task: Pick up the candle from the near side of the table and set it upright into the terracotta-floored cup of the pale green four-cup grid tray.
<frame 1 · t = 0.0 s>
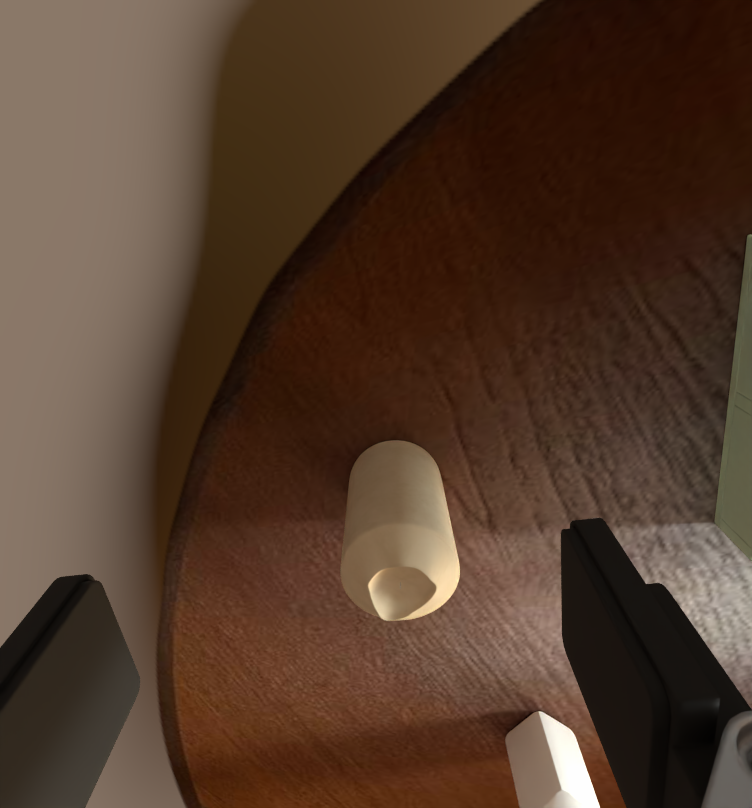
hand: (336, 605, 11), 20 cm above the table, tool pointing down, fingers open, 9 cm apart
candle: (394, 478, 33), on the table
salt shaker: (537, 728, 42), on the table
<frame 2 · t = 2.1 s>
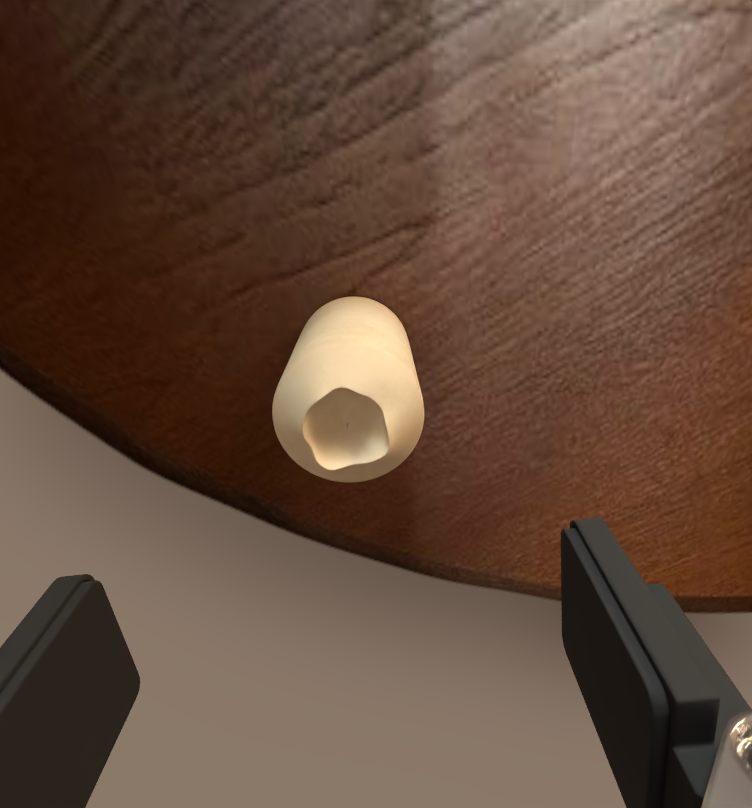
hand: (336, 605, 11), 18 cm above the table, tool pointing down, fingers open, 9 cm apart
candle: (354, 348, 28), on the table
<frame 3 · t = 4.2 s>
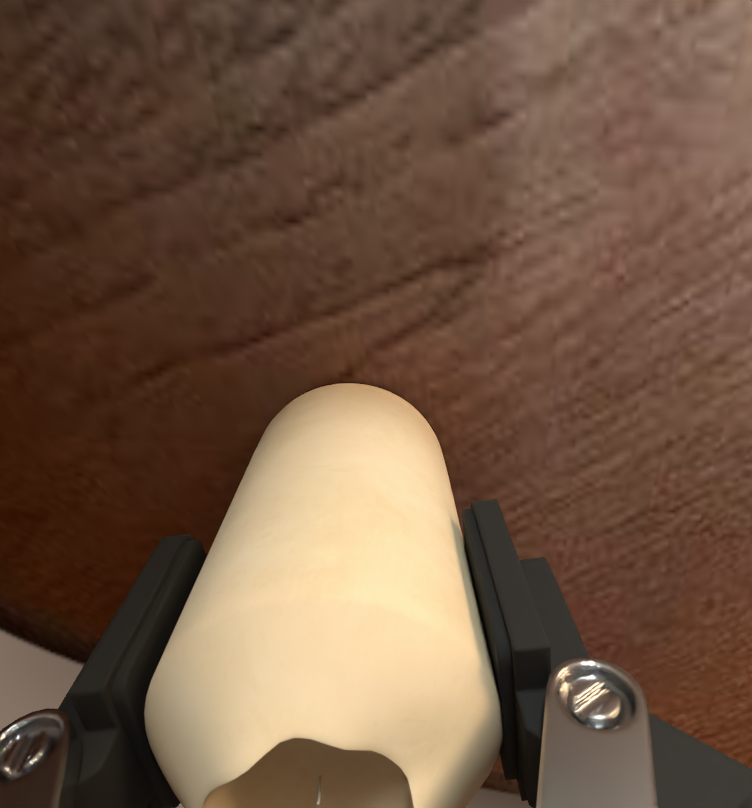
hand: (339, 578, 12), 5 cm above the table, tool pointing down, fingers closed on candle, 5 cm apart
candle: (350, 464, 17), on the table, touching gripper
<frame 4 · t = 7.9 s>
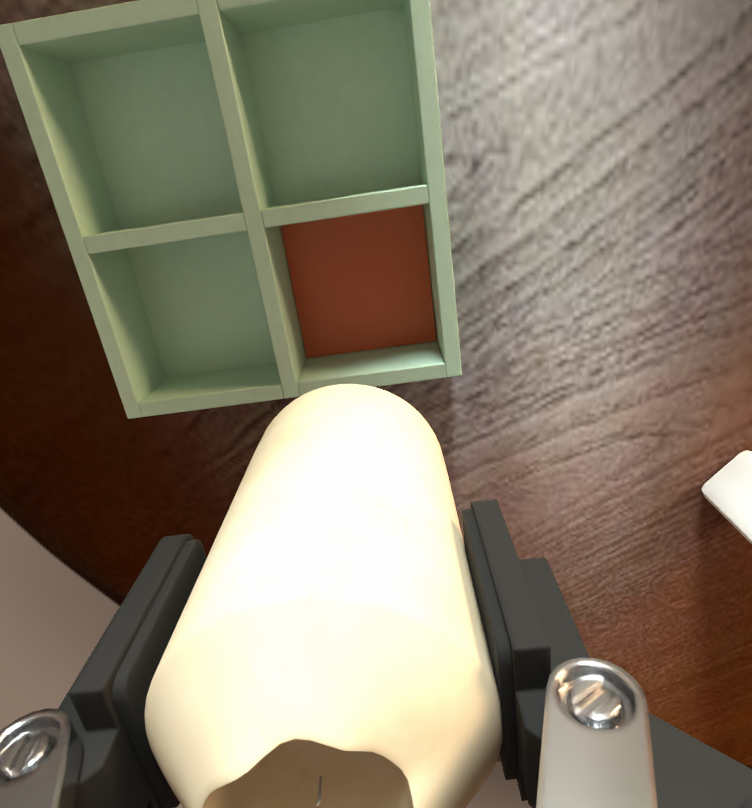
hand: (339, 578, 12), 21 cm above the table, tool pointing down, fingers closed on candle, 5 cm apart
candle: (351, 464, 17), point 16 cm above the table, touching gripper
salt shaker: (737, 480, 35), on the table
grid: (272, 213, 29), on the table
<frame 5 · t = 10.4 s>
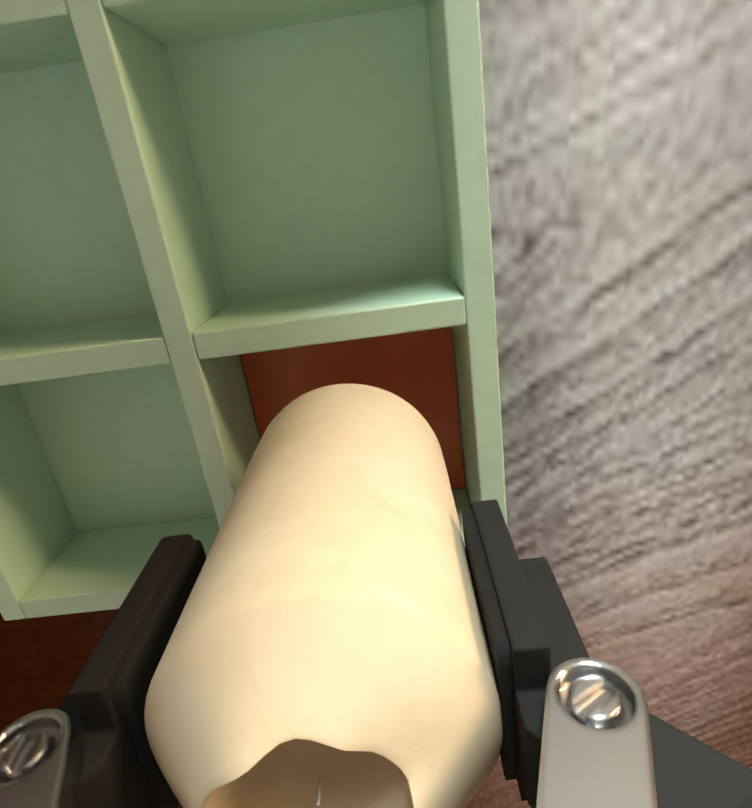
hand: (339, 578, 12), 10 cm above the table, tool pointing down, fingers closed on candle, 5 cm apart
candle: (350, 464, 17), point 5 cm above the table, touching gripper
grid: (223, 311, 20), on the table
when the fingers open (6 cm above the table, at t = 11.9 s): candle stays where it is, resting on grid.
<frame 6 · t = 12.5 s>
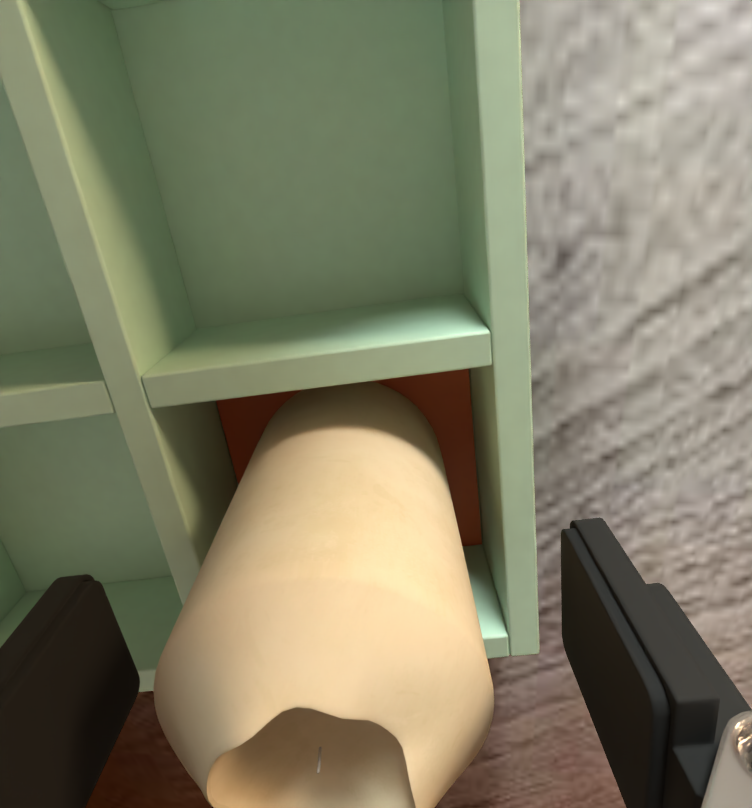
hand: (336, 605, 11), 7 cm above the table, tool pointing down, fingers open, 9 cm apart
candle: (350, 457, 17), point 1 cm above the table, touching grid
grid: (193, 337, 16), on the table
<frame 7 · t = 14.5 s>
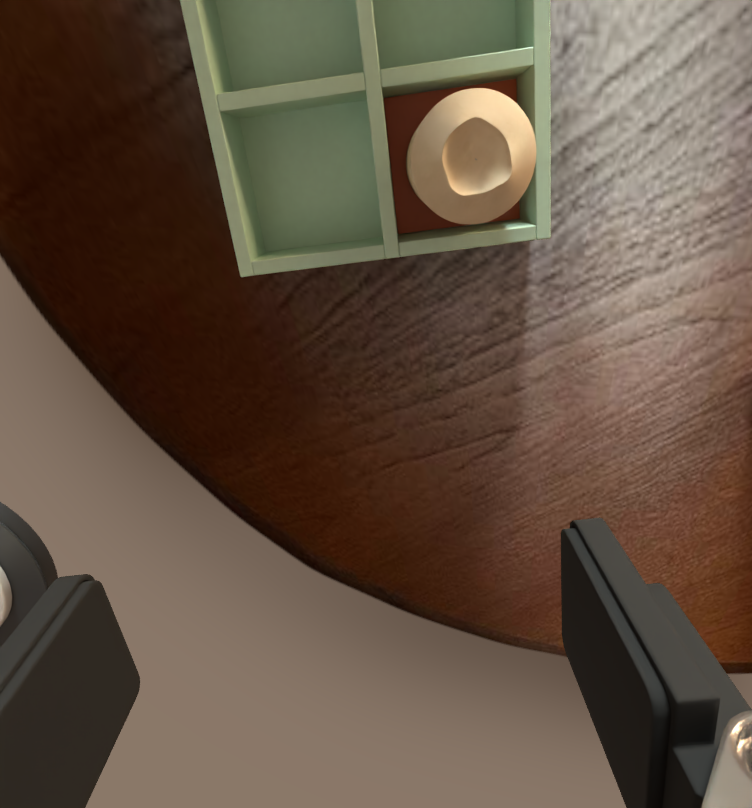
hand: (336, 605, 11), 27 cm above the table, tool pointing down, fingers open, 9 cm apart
candle: (452, 161, 32), point 1 cm above the table, touching grid
grid: (374, 91, 32), on the table
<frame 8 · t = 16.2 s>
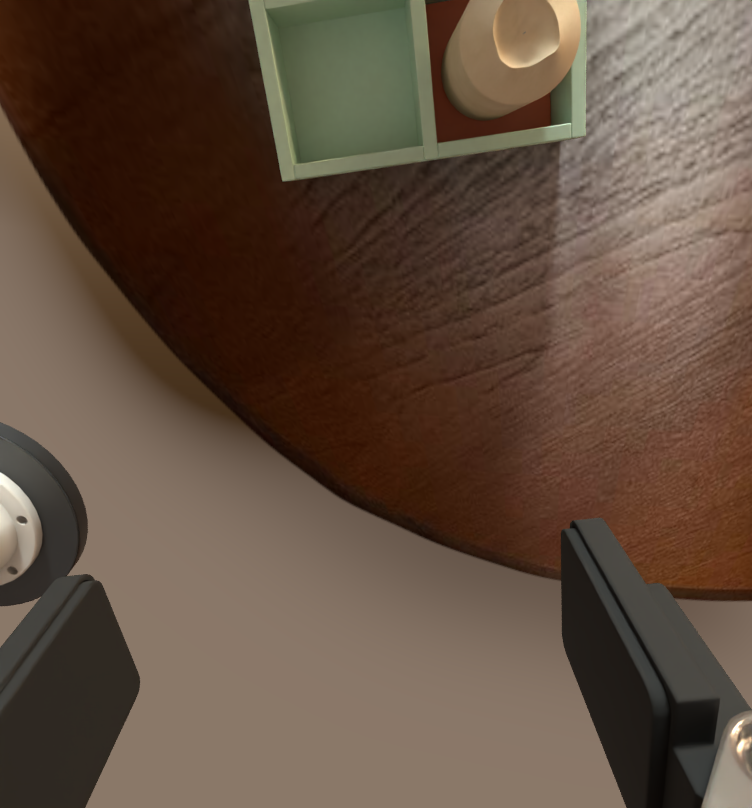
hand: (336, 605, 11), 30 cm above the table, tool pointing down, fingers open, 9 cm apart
candle: (485, 70, 33), point 1 cm above the table, touching grid
grid: (410, 1, 32), on the table
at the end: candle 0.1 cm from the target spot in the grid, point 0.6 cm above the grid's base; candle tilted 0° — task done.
